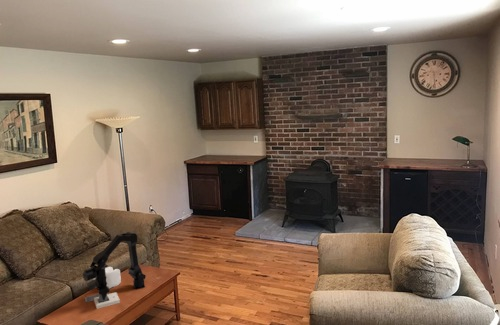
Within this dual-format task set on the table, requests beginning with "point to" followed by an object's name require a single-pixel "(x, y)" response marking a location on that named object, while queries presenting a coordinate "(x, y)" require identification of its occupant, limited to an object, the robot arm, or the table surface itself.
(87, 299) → the phone
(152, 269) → the table surface
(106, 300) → the charger
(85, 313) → the table surface
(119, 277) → the cable organizer
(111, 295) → the outlet plate
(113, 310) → the table surface
